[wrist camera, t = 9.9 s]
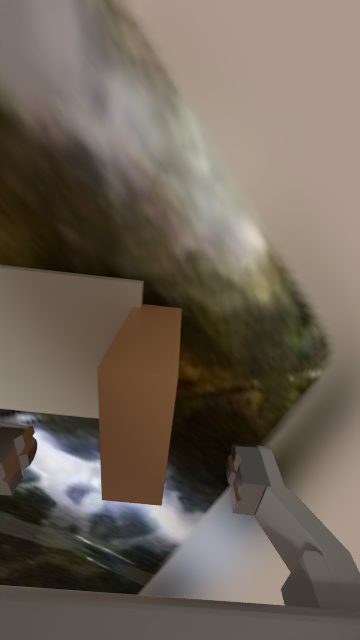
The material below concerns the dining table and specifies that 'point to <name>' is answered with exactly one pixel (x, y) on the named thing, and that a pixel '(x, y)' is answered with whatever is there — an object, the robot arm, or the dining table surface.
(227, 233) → the dining table surface
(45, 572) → the dining table surface
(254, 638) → the robot arm
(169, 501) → the dining table surface
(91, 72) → the dining table surface
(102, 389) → the tan-tipped white bar
